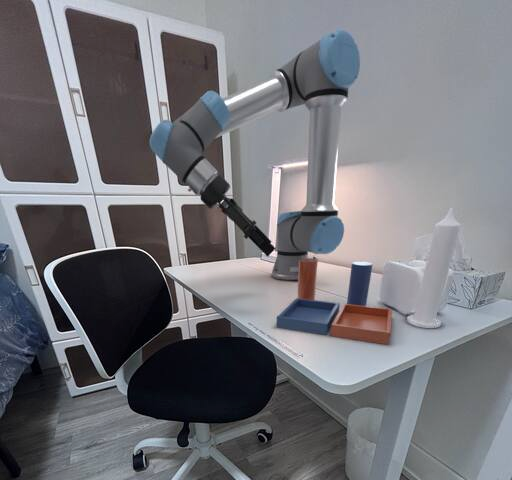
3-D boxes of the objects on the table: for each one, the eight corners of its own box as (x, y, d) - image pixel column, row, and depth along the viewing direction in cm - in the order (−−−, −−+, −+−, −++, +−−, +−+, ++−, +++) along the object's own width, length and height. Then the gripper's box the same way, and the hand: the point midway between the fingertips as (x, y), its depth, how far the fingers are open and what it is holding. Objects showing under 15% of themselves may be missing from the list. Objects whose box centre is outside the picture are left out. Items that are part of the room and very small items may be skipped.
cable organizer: (375, 300, 85) (382, 259, 80) (408, 297, 87) (416, 258, 82) (408, 318, 72) (419, 271, 67) (446, 315, 73) (459, 268, 68)
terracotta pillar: (299, 298, 87) (302, 258, 82) (316, 300, 85) (319, 259, 80) (294, 303, 83) (296, 261, 78) (312, 305, 81) (315, 262, 76)
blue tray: (296, 307, 81) (296, 298, 79) (338, 312, 76) (339, 303, 75) (276, 327, 68) (276, 316, 67) (326, 335, 63) (327, 324, 62)
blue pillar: (347, 304, 82) (353, 261, 77) (366, 306, 80) (373, 262, 75) (345, 309, 78) (350, 264, 73) (364, 312, 76) (371, 265, 71)
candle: (419, 315, 73) (445, 206, 62) (446, 324, 68) (481, 206, 57) (400, 320, 70) (424, 207, 60) (427, 330, 65) (460, 207, 54)
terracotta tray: (342, 312, 76) (343, 303, 75) (390, 318, 72) (392, 308, 70) (330, 335, 63) (331, 324, 62) (388, 344, 59) (390, 333, 58)
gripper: (205, 198, 83) (258, 251, 90) (189, 197, 61) (261, 268, 67) (223, 177, 81) (275, 233, 88) (213, 167, 59) (285, 243, 65)
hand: (269, 248), depth 78 cm, fingers open, 13 cm apart
